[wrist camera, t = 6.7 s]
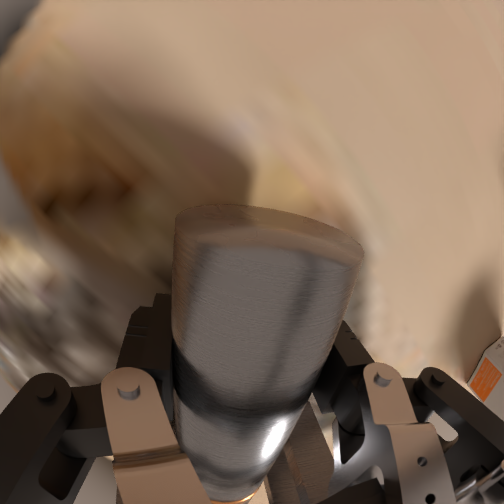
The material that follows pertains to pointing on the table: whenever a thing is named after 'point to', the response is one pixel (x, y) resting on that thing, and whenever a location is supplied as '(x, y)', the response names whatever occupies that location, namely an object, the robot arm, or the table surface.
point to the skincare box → (490, 378)
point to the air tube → (251, 334)
